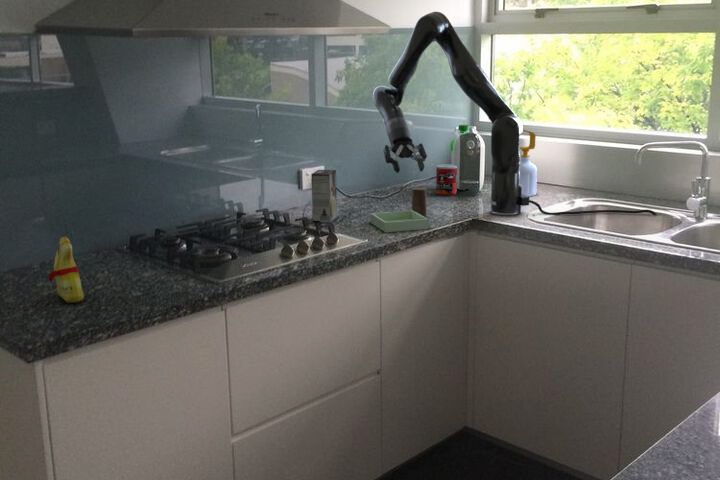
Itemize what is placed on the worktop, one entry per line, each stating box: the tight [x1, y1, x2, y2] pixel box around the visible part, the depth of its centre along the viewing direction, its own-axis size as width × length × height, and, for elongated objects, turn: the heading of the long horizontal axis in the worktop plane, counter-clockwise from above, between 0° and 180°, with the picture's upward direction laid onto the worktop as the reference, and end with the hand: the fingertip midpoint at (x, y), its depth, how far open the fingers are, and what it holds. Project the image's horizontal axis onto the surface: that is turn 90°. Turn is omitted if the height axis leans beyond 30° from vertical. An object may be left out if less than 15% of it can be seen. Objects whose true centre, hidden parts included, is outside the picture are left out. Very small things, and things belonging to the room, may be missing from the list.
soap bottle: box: [519, 129, 538, 197], centre depth 310 cm, size 9×9×25 cm
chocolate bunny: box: [48, 236, 85, 304], centre depth 194 cm, size 7×11×15 cm, turn 36°
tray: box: [369, 209, 430, 233], centre depth 265 cm, size 15×15×3 cm
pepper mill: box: [411, 186, 427, 218], centre depth 275 cm, size 5×5×10 cm
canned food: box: [435, 163, 458, 197], centre depth 314 cm, size 8×8×11 cm
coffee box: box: [310, 169, 338, 223], centre depth 274 cm, size 9×6×16 cm
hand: (410, 170), depth 280 cm, fingers open, 8 cm apart
